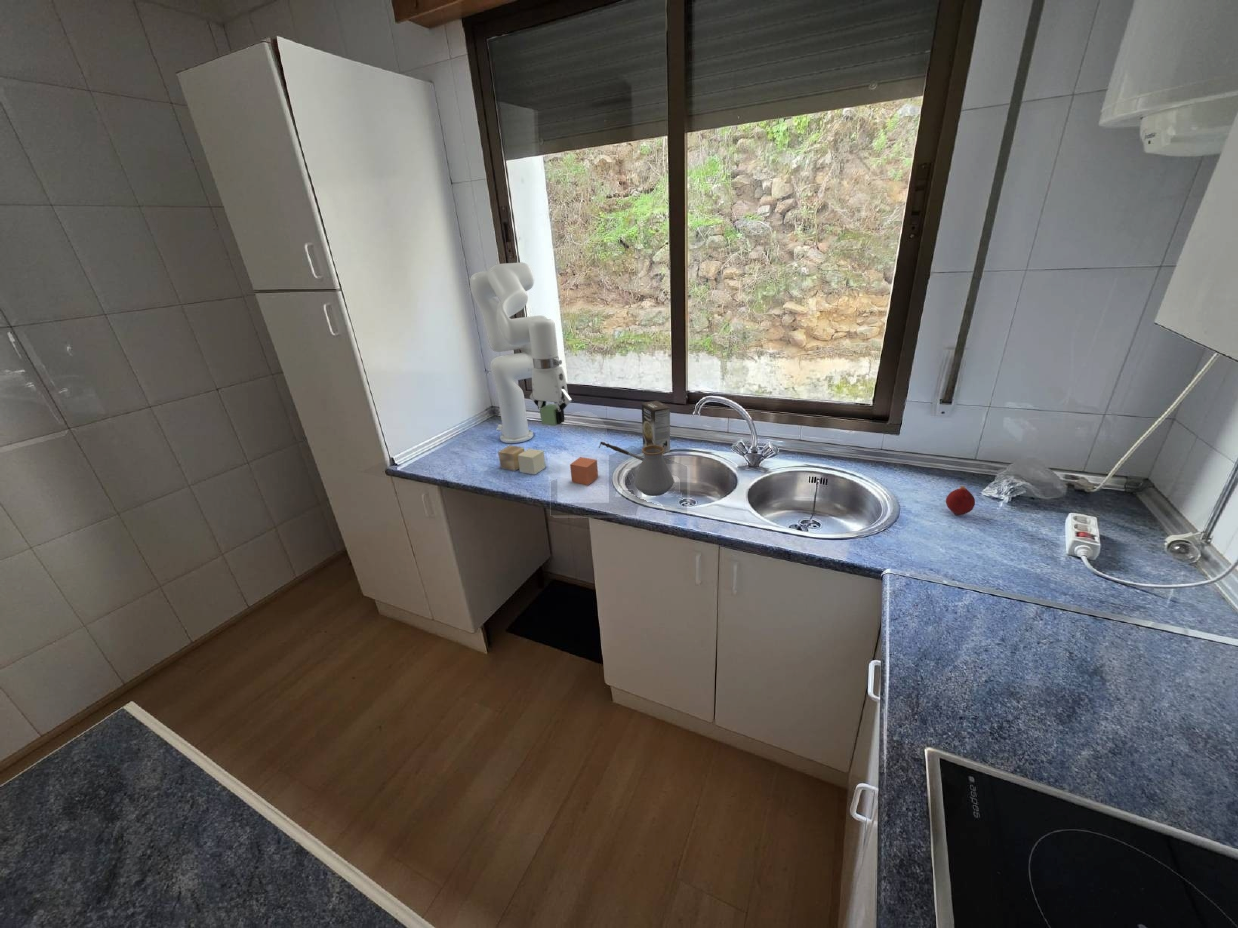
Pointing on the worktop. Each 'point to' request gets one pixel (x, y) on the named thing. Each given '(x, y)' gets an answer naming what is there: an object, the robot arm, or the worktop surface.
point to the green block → (549, 415)
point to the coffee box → (656, 424)
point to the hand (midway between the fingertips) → (553, 421)
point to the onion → (960, 501)
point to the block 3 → (584, 470)
